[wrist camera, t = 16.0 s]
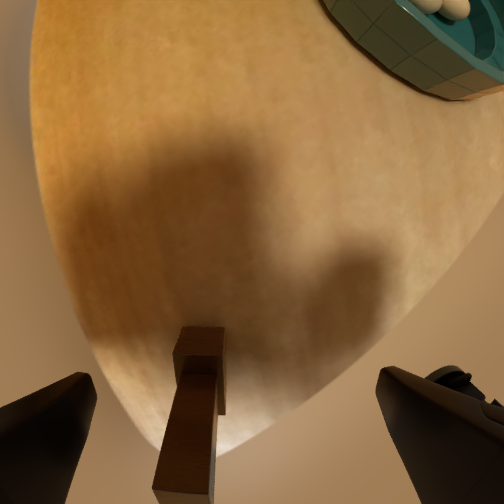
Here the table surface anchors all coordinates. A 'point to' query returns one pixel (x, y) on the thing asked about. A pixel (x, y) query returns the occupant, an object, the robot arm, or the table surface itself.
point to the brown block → (193, 419)
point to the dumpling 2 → (455, 9)
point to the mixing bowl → (431, 44)
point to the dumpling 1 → (427, 5)
